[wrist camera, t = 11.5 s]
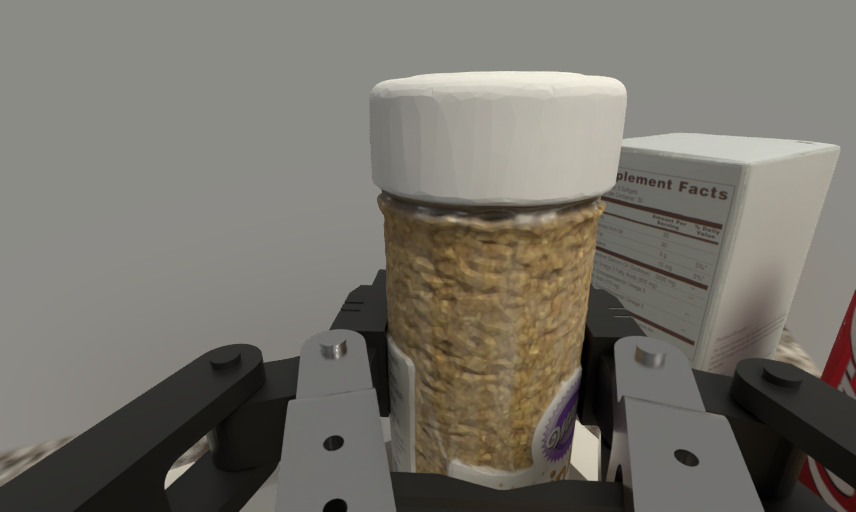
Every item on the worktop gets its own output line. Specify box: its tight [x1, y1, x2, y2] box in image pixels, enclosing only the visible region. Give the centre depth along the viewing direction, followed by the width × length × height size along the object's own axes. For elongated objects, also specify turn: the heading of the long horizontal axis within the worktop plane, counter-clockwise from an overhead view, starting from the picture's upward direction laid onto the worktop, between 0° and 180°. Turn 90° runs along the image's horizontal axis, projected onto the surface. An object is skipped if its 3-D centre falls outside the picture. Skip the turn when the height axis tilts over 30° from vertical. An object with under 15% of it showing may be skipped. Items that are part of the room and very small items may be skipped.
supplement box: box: [591, 133, 841, 377], centre depth 21 cm, size 7×7×13 cm
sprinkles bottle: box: [370, 71, 627, 490], centre depth 10 cm, size 5×5×13 cm
